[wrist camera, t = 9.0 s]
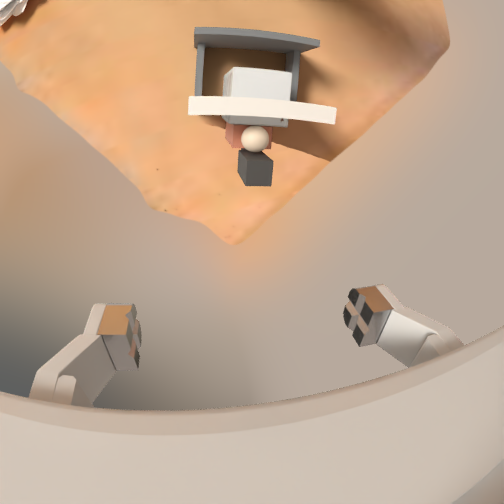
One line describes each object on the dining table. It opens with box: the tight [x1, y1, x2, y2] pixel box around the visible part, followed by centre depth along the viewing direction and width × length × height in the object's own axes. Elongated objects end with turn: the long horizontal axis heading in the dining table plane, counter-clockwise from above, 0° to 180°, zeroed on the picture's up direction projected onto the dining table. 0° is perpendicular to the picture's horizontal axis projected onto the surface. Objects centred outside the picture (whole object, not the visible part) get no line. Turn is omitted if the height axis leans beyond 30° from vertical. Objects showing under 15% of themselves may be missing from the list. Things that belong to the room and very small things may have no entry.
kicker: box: [225, 121, 273, 186], centre depth 37 cm, size 7×5×14 cm
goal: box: [188, 27, 337, 124], centre depth 32 cm, size 12×16×16 cm
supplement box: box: [222, 67, 292, 128], centre depth 35 cm, size 7×7×13 cm
